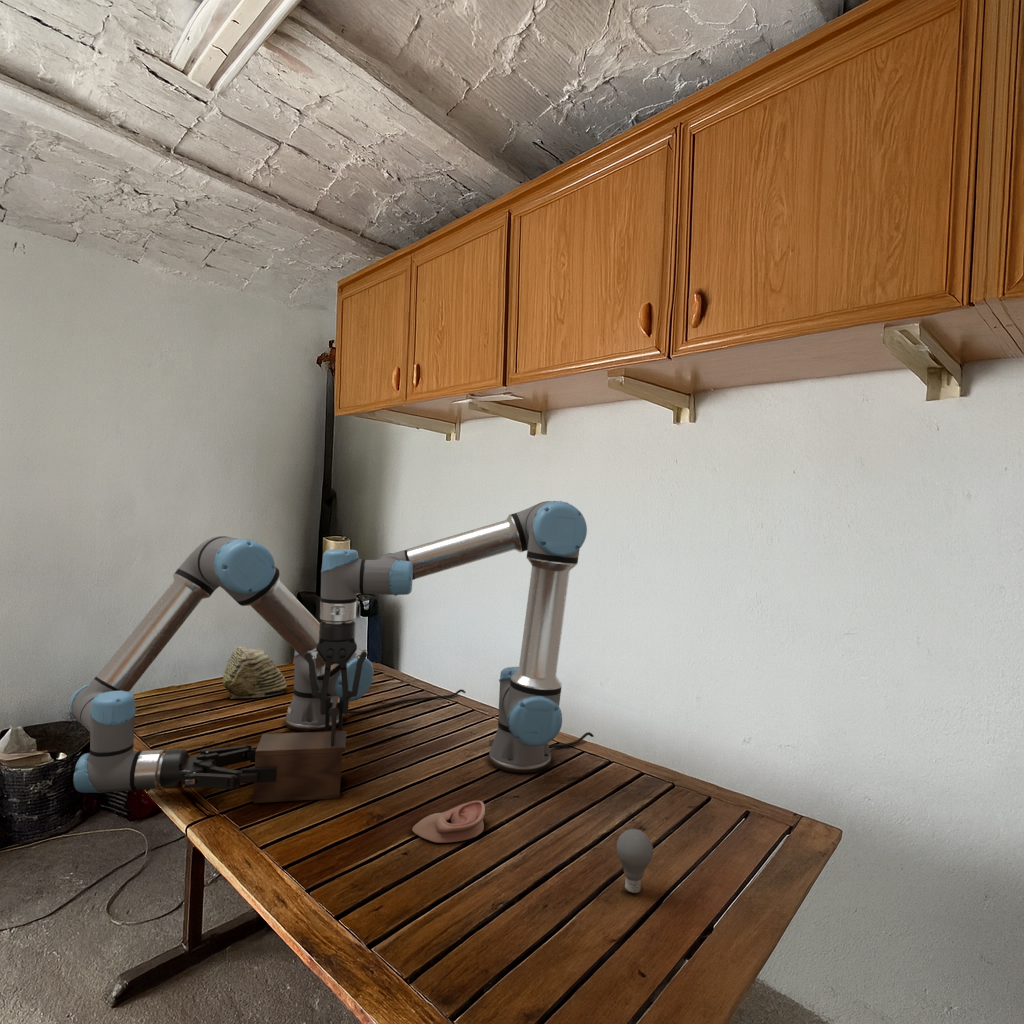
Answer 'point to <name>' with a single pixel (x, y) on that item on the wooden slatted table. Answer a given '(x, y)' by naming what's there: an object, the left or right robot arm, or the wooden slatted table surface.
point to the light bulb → (634, 857)
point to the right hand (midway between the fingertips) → (333, 728)
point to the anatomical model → (453, 823)
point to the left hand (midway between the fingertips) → (279, 763)
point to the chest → (300, 777)
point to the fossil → (252, 674)
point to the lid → (305, 739)
